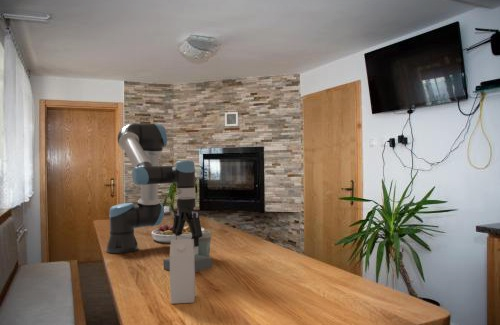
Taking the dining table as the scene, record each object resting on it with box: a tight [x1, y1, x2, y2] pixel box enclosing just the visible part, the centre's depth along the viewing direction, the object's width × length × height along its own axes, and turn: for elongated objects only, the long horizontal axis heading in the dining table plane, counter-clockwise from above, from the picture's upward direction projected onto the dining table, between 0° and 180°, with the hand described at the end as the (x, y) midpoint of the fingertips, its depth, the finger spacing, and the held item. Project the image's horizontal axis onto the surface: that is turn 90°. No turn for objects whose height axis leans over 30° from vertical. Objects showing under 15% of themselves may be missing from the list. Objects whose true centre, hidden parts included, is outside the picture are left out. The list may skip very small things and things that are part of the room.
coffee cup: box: [197, 230, 212, 257], centre depth 174 cm, size 8×9×12 cm
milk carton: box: [169, 239, 196, 305], centre depth 122 cm, size 7×7×19 cm
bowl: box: [151, 223, 206, 244], centre depth 223 cm, size 30×30×8 cm
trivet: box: [162, 254, 213, 273], centre depth 159 cm, size 14×14×4 cm
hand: (187, 252), depth 159 cm, fingers closed on cocoa, 9 cm apart
